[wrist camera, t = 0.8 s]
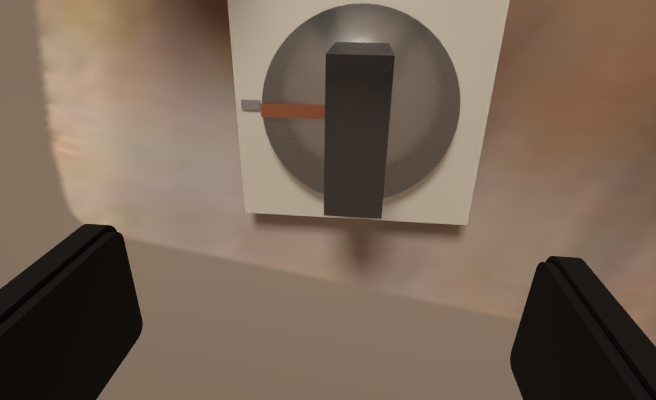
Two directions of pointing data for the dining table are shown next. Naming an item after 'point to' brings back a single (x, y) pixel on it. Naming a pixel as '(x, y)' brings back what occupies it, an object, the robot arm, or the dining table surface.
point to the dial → (360, 105)
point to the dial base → (464, 151)
